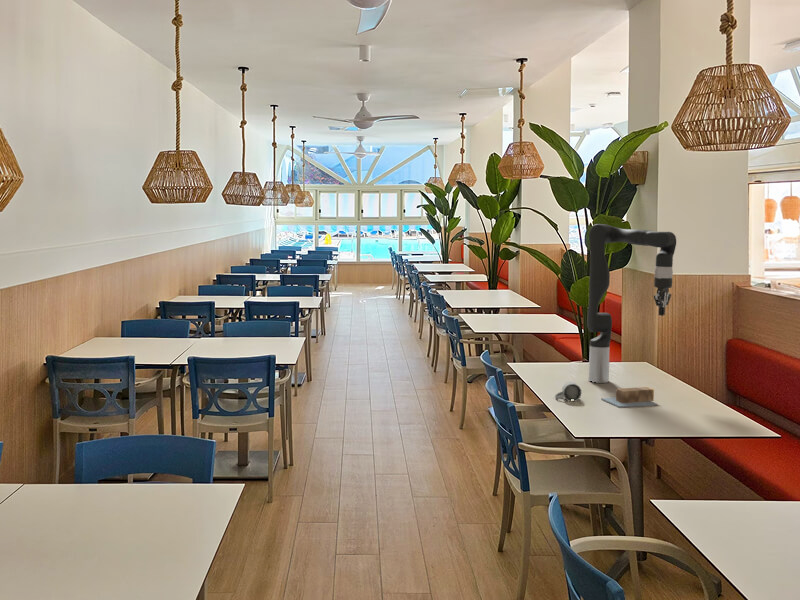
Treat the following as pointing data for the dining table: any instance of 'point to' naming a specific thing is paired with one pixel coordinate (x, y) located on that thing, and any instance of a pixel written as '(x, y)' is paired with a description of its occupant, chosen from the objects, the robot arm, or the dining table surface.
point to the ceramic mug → (570, 392)
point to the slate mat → (633, 404)
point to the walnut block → (634, 394)
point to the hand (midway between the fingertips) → (661, 315)
